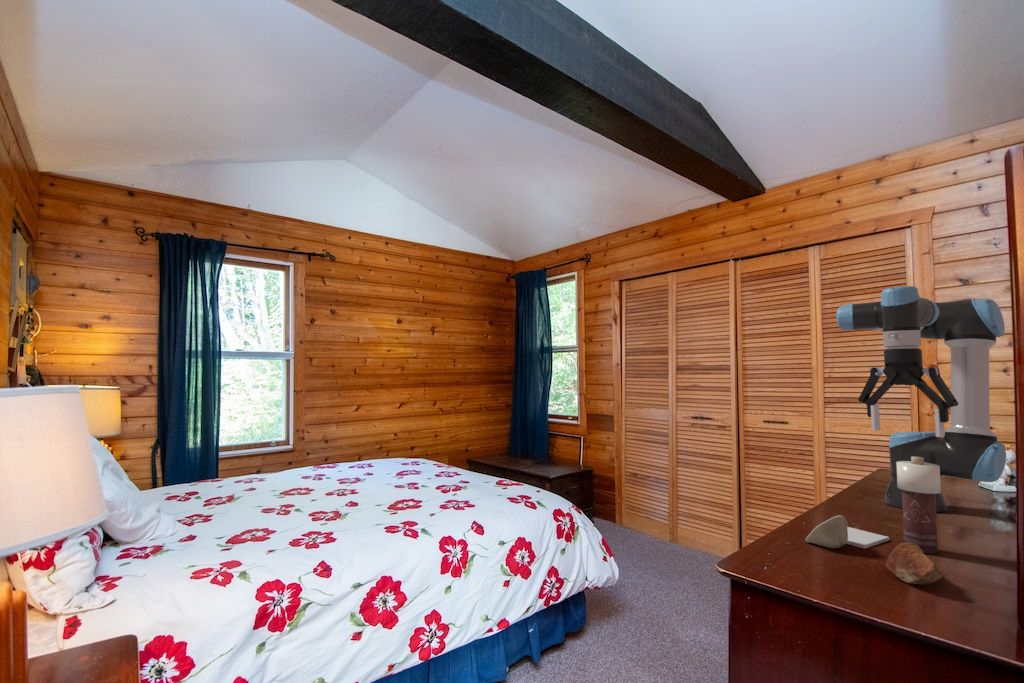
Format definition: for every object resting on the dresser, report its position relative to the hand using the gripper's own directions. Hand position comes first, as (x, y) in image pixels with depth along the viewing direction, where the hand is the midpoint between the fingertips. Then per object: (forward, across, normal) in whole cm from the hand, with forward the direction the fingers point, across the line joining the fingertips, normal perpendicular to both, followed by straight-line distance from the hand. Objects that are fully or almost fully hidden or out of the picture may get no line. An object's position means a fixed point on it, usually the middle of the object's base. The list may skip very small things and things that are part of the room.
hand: (906, 433), depth 124 cm
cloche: (+12, +4, -4) cm, 14 cm away
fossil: (+26, +11, -27) cm, 39 cm away
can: (+27, +4, -5) cm, 27 cm away
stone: (+26, -9, -21) cm, 35 cm away
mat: (+26, -9, -10) cm, 30 cm away
